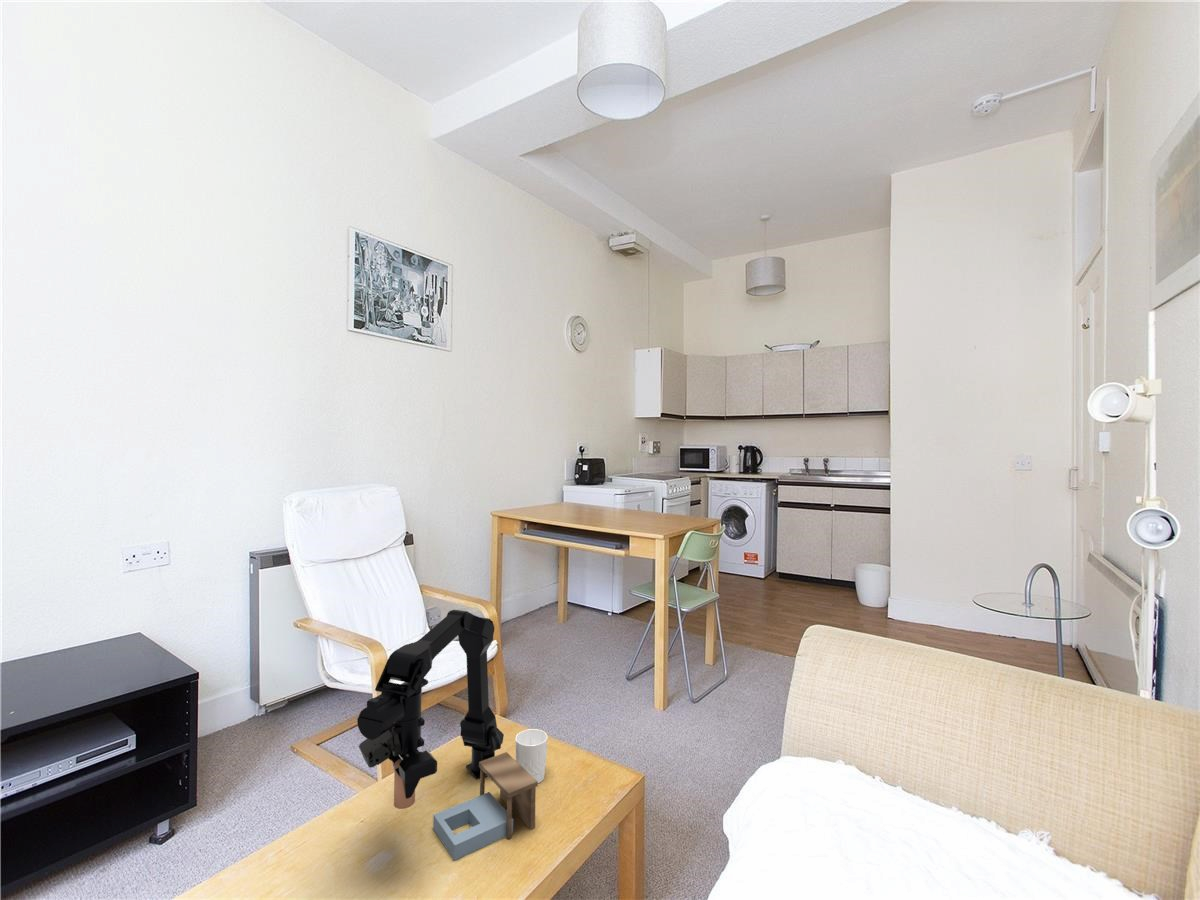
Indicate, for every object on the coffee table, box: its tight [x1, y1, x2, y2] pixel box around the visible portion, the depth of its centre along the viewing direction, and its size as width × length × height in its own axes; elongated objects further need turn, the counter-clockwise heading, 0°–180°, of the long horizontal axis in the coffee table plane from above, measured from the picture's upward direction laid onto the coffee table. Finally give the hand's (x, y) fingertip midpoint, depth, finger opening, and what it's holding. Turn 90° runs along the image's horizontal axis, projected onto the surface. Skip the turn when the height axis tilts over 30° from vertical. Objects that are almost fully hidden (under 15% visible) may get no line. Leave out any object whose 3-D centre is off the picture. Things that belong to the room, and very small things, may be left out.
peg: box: [393, 759, 416, 810], centre depth 109 cm, size 4×4×8 cm
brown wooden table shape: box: [479, 751, 539, 840], centre depth 120 cm, size 14×7×10 cm, turn 38°
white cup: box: [514, 728, 548, 784], centre depth 135 cm, size 8×8×10 cm
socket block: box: [432, 791, 514, 861], centre depth 115 cm, size 11×13×3 cm
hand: (404, 792), depth 109 cm, fingers closed on peg, 4 cm apart
